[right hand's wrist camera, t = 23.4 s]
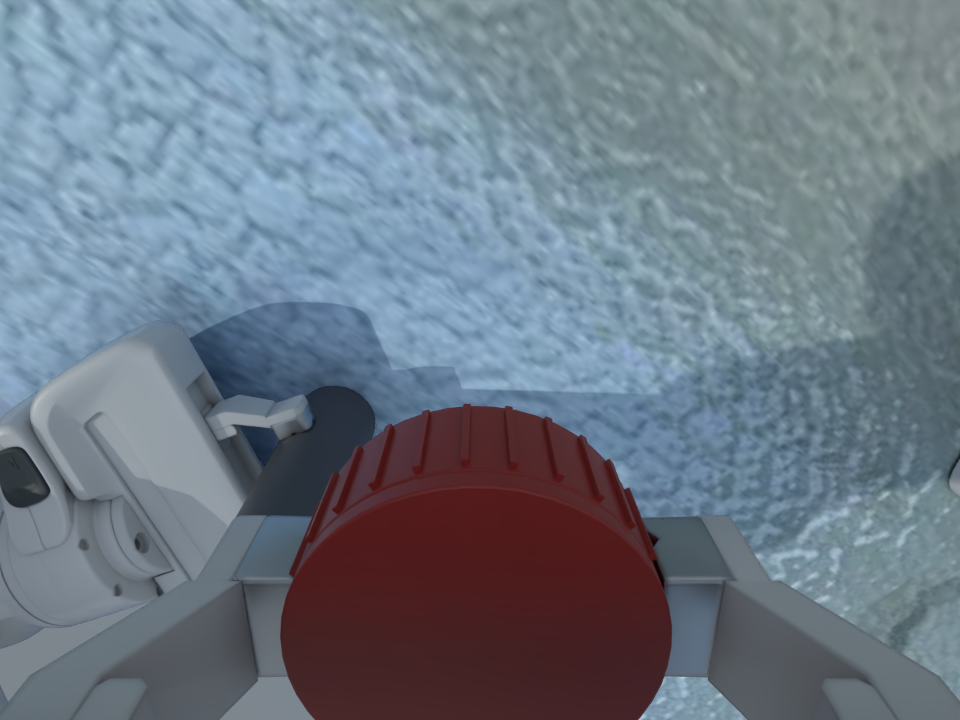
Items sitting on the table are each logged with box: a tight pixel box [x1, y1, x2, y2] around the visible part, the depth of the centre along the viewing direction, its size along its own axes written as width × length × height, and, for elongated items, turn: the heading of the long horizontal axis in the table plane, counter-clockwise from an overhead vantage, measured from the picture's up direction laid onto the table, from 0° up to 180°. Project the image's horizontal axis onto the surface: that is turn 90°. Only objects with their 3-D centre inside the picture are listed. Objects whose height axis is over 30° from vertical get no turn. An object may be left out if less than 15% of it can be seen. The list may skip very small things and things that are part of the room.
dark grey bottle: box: [235, 386, 375, 518], centre depth 32 cm, size 5×5×16 cm
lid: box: [280, 404, 672, 720], centre depth 9 cm, size 5×5×2 cm
